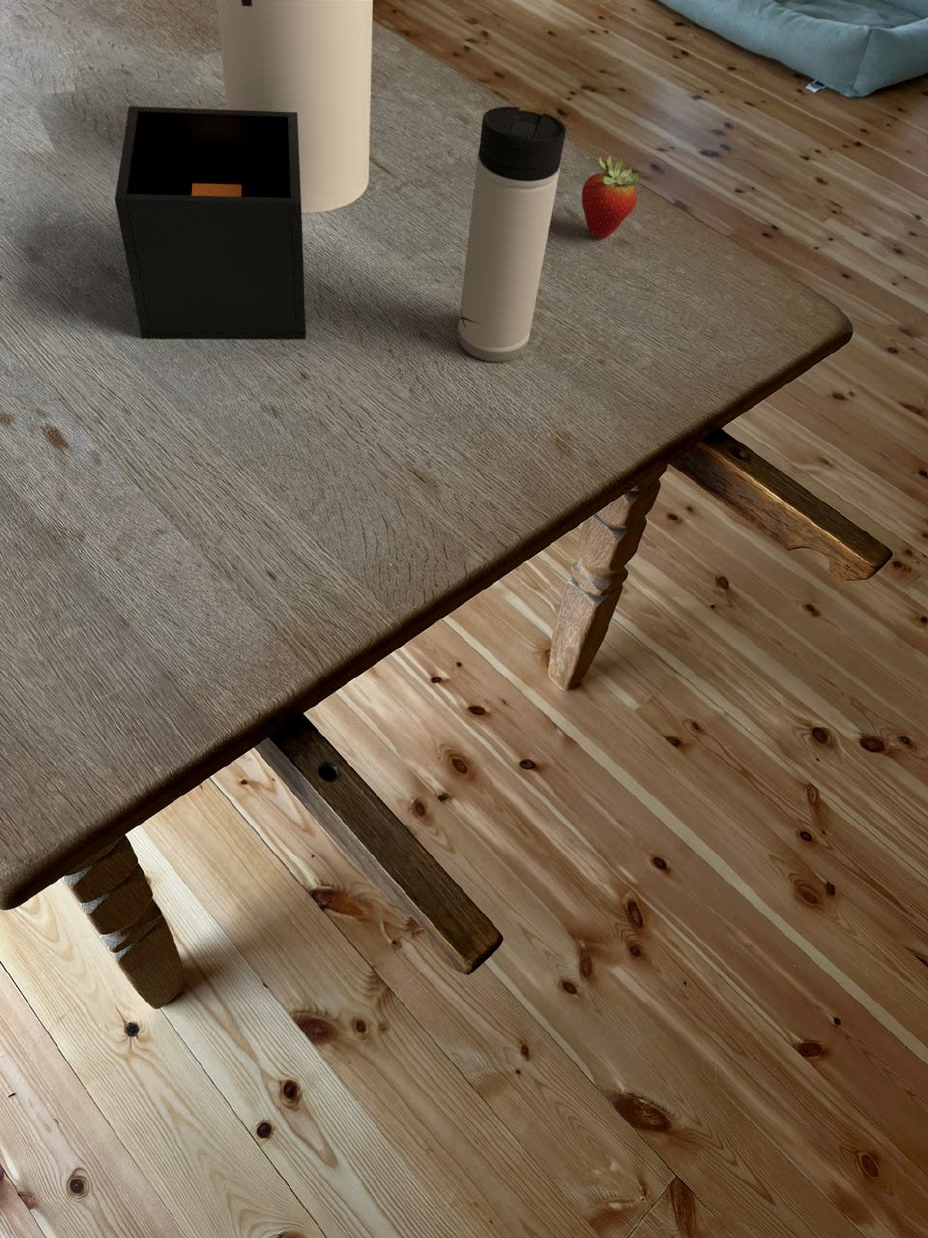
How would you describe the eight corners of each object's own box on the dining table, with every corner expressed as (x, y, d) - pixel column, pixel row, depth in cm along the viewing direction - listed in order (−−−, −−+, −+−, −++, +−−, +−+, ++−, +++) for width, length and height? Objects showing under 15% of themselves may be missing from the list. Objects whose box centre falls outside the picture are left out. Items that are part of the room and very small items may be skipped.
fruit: (633, 251, 99) (654, 174, 93) (583, 255, 98) (600, 177, 91) (615, 221, 102) (633, 144, 95) (565, 225, 101) (581, 147, 94)
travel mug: (448, 356, 87) (472, 128, 71) (466, 311, 91) (493, 85, 75) (518, 372, 86) (559, 147, 70) (533, 327, 90) (575, 103, 74)
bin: (141, 338, 84) (114, 199, 74) (151, 243, 92) (128, 105, 82) (305, 339, 86) (301, 203, 76) (302, 245, 94) (297, 111, 84)
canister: (389, 200, 100) (398, -22, 84) (258, 222, 96) (241, -7, 80) (339, 131, 107) (339, -86, 91) (215, 149, 102) (191, -76, 86)
